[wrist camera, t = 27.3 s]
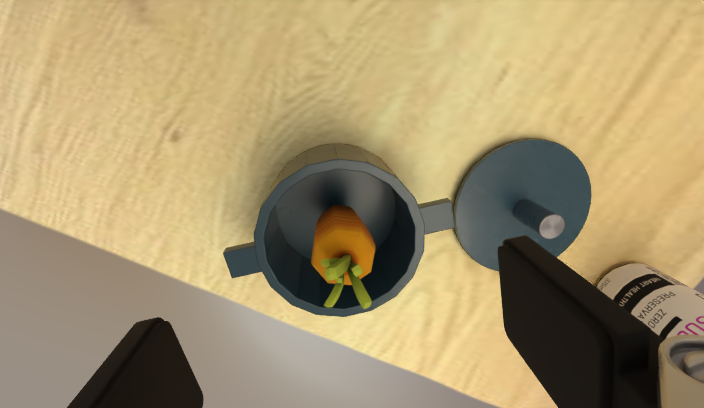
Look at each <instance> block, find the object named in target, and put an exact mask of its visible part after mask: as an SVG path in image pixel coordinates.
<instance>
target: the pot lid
mask: <svg viewBox="0 0 704 408" xmlns="http://www.w3.org/2000/svg"><path fill="white" fill-rule="evenodd" d="M590 204H591V185H590V180H589V176H588V174H587V171H586V169H585V167H584V165H583V164H582V162H581V161H580V160H579V158H578V157H577V156H576V155H575V154H574V153H573V152H572V151H570V150H569V149H567V148H566V147H564V146H562V145H560V144H558V143H555V142H551V141H548V140H542V139H523V140H517V141H514V142H510V143H507V144H505V145H502V146H500V147H498V148H496V149H495V150H493V151H491V152H490V153H488V154H487V155H486V156H484V157H483V158H482V159H481V160H480V161H479V162H477V163H476V164H475V165H474V167H473V168H472V169H471V170H470V171H469V173H468V174H467V176H466V177H465V179H464V180H463V182H462V184H461V186H460V188H459V191H458V194H457V196H456V200H455V205H454V214H453V217H454V226H455V232H456V235H457V237H458V240H459V242H460V244H461V246H462V247H463V248H464V250H465V251H466V252H467V253H468V255H469V256H470V257H472V258H473V259H474V260H475V261H476V262H478V263H479V264H481V265H483V266H485V267H487V268H489V269H492V270H495V271H499V262H498V247H499V246H503V241H504V240H505V239H510V238H514V237H519V236H523V235H526V236H528V237H530V238H531V239H532V240H534V241H535V242H536V243H538V244H539V245H540V246H542V247H543V248H544V249H546V250H547V251H548V252H550V253H551V254H552V255H554V256H555V257H557V256H559V255H560V254H561V253H562V252H564V251H565V250H566V249H567V248H568V247H569V246H570V245H571V244H572V243H573V241H574V240H575V239H576V237H577V236H578V234H579V233H580V231H581V230H582V228H583V226H584V224H585V221H586V219H587V216H588V213H589V209H590Z"/></svg>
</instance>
